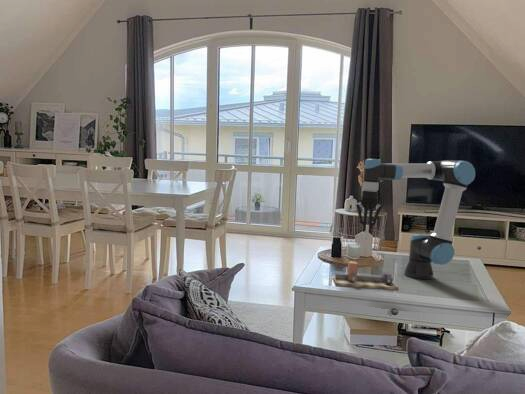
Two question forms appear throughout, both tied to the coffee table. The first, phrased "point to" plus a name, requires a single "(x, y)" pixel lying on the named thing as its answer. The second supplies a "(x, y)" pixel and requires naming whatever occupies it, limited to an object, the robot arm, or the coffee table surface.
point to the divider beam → (368, 278)
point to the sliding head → (352, 270)
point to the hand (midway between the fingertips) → (365, 238)
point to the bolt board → (365, 284)
